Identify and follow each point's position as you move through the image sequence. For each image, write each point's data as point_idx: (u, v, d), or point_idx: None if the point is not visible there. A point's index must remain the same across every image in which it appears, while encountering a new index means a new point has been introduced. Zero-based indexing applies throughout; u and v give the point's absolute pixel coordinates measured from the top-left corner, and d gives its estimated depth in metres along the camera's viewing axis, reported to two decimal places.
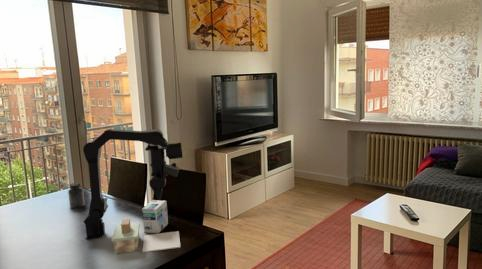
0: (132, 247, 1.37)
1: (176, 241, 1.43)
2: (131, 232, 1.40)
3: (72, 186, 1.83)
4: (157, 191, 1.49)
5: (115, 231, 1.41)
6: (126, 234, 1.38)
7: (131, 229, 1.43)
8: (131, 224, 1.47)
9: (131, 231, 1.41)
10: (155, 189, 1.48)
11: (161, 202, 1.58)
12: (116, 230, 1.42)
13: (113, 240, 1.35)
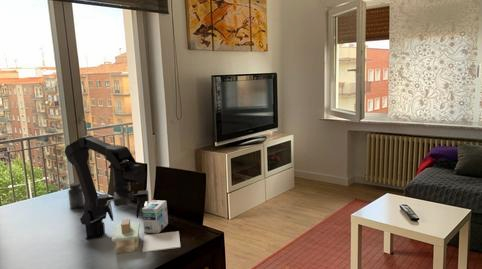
0: (132, 247, 1.37)
1: (176, 241, 1.43)
2: (131, 232, 1.40)
3: (72, 186, 1.83)
4: None
5: (115, 231, 1.41)
6: (126, 234, 1.38)
7: (131, 229, 1.43)
8: (131, 224, 1.47)
9: (131, 231, 1.41)
10: None
11: (161, 202, 1.58)
12: (116, 230, 1.42)
13: (113, 240, 1.35)
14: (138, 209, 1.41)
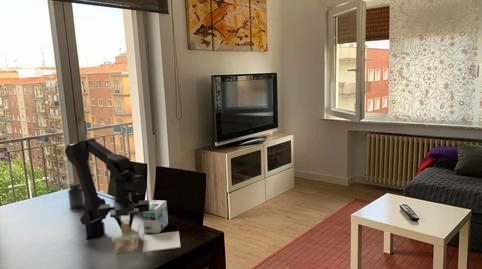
0: (132, 247, 1.37)
1: (176, 241, 1.43)
2: (131, 232, 1.40)
3: (72, 186, 1.83)
4: None
5: (115, 231, 1.41)
6: (126, 234, 1.38)
7: (131, 229, 1.43)
8: None
9: (131, 231, 1.41)
10: None
11: (161, 202, 1.58)
12: (116, 230, 1.42)
13: (113, 240, 1.35)
14: (131, 220, 1.41)
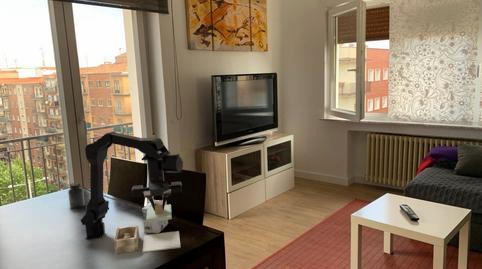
0: (132, 247, 1.37)
1: (176, 241, 1.43)
2: (164, 213, 1.40)
3: (72, 186, 1.83)
4: None
5: (148, 212, 1.42)
6: (160, 215, 1.39)
7: (164, 210, 1.43)
8: None
9: (164, 212, 1.41)
10: None
11: None
12: (149, 211, 1.43)
13: (148, 220, 1.35)
14: (164, 201, 1.41)
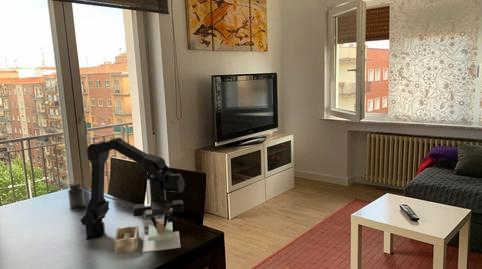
0: (132, 247, 1.37)
1: (176, 241, 1.43)
2: (166, 231, 1.42)
3: (72, 186, 1.83)
4: None
5: (150, 230, 1.43)
6: (161, 233, 1.40)
7: (165, 228, 1.44)
8: None
9: (165, 230, 1.43)
10: None
11: None
12: (150, 229, 1.44)
13: (149, 239, 1.37)
14: (165, 219, 1.42)
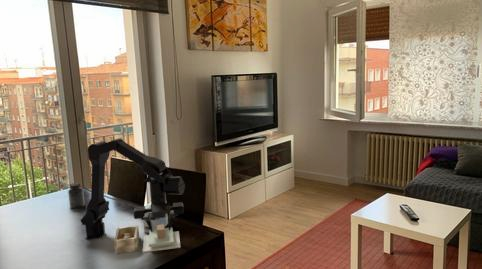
0: (132, 247, 1.37)
1: (176, 241, 1.43)
2: (166, 237, 1.42)
3: (72, 186, 1.83)
4: None
5: (150, 236, 1.44)
6: (162, 239, 1.41)
7: (166, 234, 1.45)
8: (164, 229, 1.50)
9: (166, 236, 1.43)
10: None
11: None
12: (151, 235, 1.44)
13: (150, 245, 1.37)
14: (170, 221, 1.43)
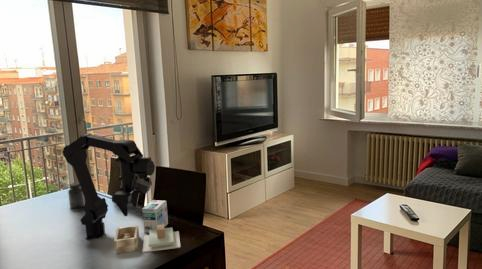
0: (132, 247, 1.37)
1: (176, 241, 1.43)
2: (166, 237, 1.42)
3: (72, 186, 1.83)
4: (122, 207, 1.38)
5: (150, 236, 1.44)
6: (162, 239, 1.41)
7: (166, 234, 1.45)
8: (164, 229, 1.50)
9: (166, 236, 1.43)
10: (120, 205, 1.38)
11: (161, 202, 1.58)
12: (151, 235, 1.44)
13: (150, 245, 1.37)
14: (138, 197, 1.49)
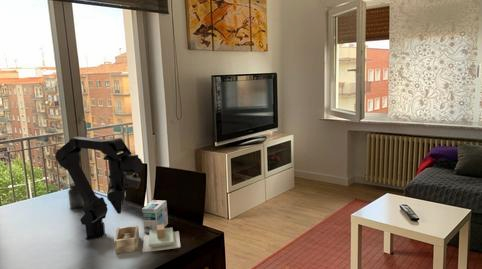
0: (132, 247, 1.37)
1: (176, 241, 1.43)
2: (166, 237, 1.42)
3: (72, 186, 1.83)
4: (116, 205, 1.39)
5: (150, 236, 1.44)
6: (162, 239, 1.41)
7: (166, 234, 1.45)
8: (164, 229, 1.50)
9: (166, 236, 1.43)
10: (114, 203, 1.38)
11: (161, 202, 1.58)
12: (151, 235, 1.44)
13: (150, 245, 1.37)
14: None
